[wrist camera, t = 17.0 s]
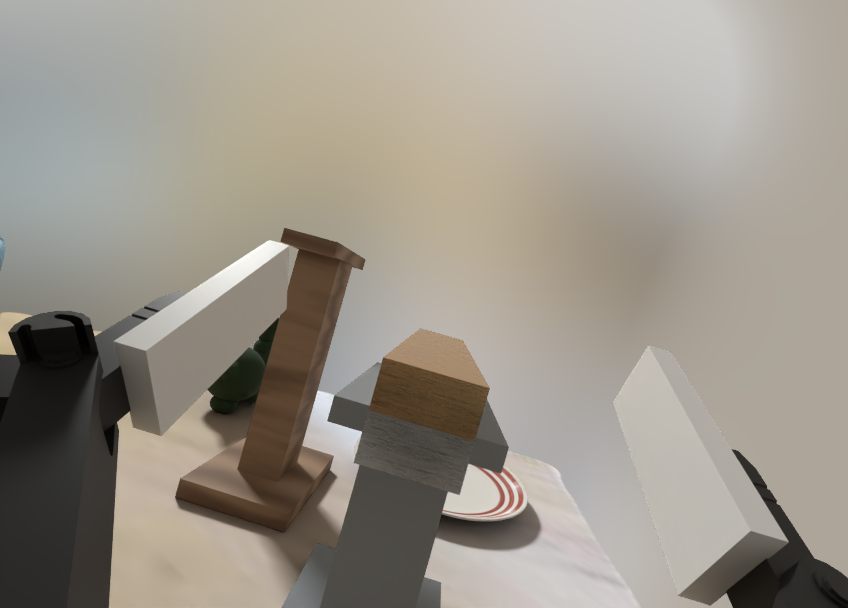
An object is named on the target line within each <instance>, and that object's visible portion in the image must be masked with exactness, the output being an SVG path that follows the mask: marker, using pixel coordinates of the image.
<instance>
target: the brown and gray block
mask: <svg viewBox="0 0 848 608" xmlns="http://www.w3.org/2000/svg"><path fill="white" fill-rule="evenodd" d="M488 392H489V386H488V384H487V383H486V381H485V379H484V377H483V375H482V374H481V372H480V370H479V368H478V367H477V365H476V363H475V361H474V360H473V358H472V356H471V354H470V353H469V351H468V349H467V347H466V345H465V344H464V342H463V340H459V339H455V338H452V337H449V336H445V335H441V334H438V333H435V332H431V331H427V330H424V329H419V330H418V331H417V332H415V333H414V334H413V335H411V336H410V337H409V338H408V339H406V340H405V341H404V342H402V343H401V344H400V345H399V346H397V347H396V348H395V349H394V350H392V351H391V352H390V353H388V354H387V355H386V356H385V357H383V360H382V364H381V367H380V371H379V375H378V378H377V382H376V385H375V389H374V392H373V396H372V399H371V403H370V407H369V410H368V414H367V417H366V421H365V424H364V428H363V432H362V435H361V439H360V442H359V446H358V449H357V453H356V456H355V460H354V463H356V464H359V465H363V466H366V467H369V468H372V469H376V470H379V471H382V472H385V473H389V474H392V475H395V476H398V477H402V478H405V479H408V480H411V481H415V482H418V483H421V484H425V485H428V486H431V487H434V488H438V489H441V490H444V491H447V492H451V493H454V494H457V495H460V492H461V488H462V485H463V481H464V478H465V474H466V471H467V467H468V464H469V460H470V456H471V453H472V449H473V446H474V442H475V439H476V435H477V432H478V428H479V424H480V421H481V417H482V414H483V410H484V407H485V403H486V400H487V396H488Z"/></svg>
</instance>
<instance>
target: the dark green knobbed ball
mask: <svg viewBox="0 0 848 608" xmlns="http://www.w3.org/2000/svg"><path fill="white" fill-rule="evenodd" d="M278 322H279V318H277V319H276V320H275V321H274V322H273V323H272V324H271V325H270V326H269V327H268V328H267V329H266V330H265V331H264V332H263V333H262V334H261V335H260V337H259V340H258V341H257V342H256V343H255V344H254V349H251V348H248V349H247V350H246V351H245V352H244V353H243V354H242V355H241V356H240V357H239V358H238V359H237V360H236V361H235V362H234V363H233V364H232V365H231V366H230V367H229V368H228V369H227V370H226V371H225V372H224V373H223V374H222V375H221V376H220V377H219V378H218V379H217V380H216V381H215V382H214V383H213V384H212V385H211V386H210V387H209V388H208V389H207V390H208V391H209V392H210V393H211V394H212V395H214V396H213V397H212V399H211V401H210V406H211V408H212V409H213V410H215V411H217V412H221V413H232V412H234V411H235V410H236V409H237V407H238V402H239V401H243V400H245V401H246V402H247V403H250V404H253V403H255V402H256V400H257V397H258V393H259V390H260V386H261V383H262V379H263V375H264V372H265V368H266V365H267V361H268V358H269V354H270V350H271V347H272V343H273V340H274V336H275V333H276V329H277V325H278Z"/></svg>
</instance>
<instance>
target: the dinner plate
mask: <svg viewBox="0 0 848 608" xmlns="http://www.w3.org/2000/svg"><path fill="white" fill-rule="evenodd" d="M360 439H361V437H360V438H359V439H358V441H357V442H356V444H355V456H356V453H357V449H358V446H359V442H360ZM527 504H528V495H527V491H526V489H525V487H524V485H523V484H522V482H521V481H520V480H519V479H518V478H517V477H516V475H515V474H514V473H513V472H512V471H510V470H509V469H508V468H507V467H506V466H505V465H504V466H503V469H502V473H501V474H500V473H497V472H494V471H491V470H487V469H484V468H481V467H477V466H474V465H471V464H468V467H467V471H466V474H465V478H464V481H463V485H462V488H461V492H460V495H457V494H454V493H451V492H448V493H447V497H446V501H445V504H444V508H443V511H442V515H446V516H449V517H453V518H458V519H463V520H470V521H500V520H506V519H510V518H512V517H515V516H517V515H519V514H520V513H522V512H523V511H524V509H525V508H526V506H527Z"/></svg>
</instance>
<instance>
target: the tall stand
mask: <svg viewBox="0 0 848 608" xmlns="http://www.w3.org/2000/svg"><path fill="white" fill-rule="evenodd" d="M281 242H283V243H285V244H288V245H290V246H293V247H295V248H297V249H299V251H298V254H297V258H296V261H295V265H294V268H293V272H292V276H291V279H290V283H289V286H288V290H287V309H286V310H285V311H284V312H283V313H282V314H281V315H280V318H279V322H278V325H277V329H276V333H275V336H274V340H273V343H272V347H271V350H270V354H269V358H268V361H267V365H266V368H265V372H264V375H263V379H262V383H261V386H260V390H259V393H258V397H257V400H256V404H255V408H254V411H253V415H252V418H251V422H250V425H249V429H248V432H247V436H246V437H245V438H244V439H242V440H240V441H239V442H237V443H236V444H234V445H233V446H231V447H229V448H228V449H226V450H225V451H223V452H221V453H220V454H218V455H217V456H215V457H214V458H212V459H210V460H209V461H207V462H206V463H204V464H203V465H201V466H199V467H198V468H196V469H195V470H193V471H192V472H190V473H188V474H187V475H185V476H184V477H182V478H180V482H179V485H178V489H177V492H176V496H175V497H176V498H179V499H182V500H186V501H189V502H192V503H195V504H198V505H201V506H204V507H207V508H210V509H213V510H217V511H220V512H223V513H226V514H229V515H232V516H235V517H238V518H241V519H245V520H248V521H251V522H254V523H257V524H260V525H263V526H266V527H269V528H272V529H276V530H279V531H282V532H285V530H286V529H287V528H288V526H289V525H290V523H291V522H292V521H293V519H294V518H295V517H296V515H297V514H298V512H299V511H300V510H301V508H302V507H303V506H304V504H305V503H306V502H307V500H308V499H309V497H310V496H311V495H312V493H313V492H314V491H315V489H316V488H317V486H318V485H319V484H320V482H321V481H322V480H323V478H324V477H325V476H326V474H327V473H328V471H329V470H330V467H331V464H332V460H333V457H334V456H333V455H329V454H326V453H323V452H320V451H316V450H313V449H310V448H307V447H303V446H302V444H303V440H304V437H305V433H306V429H307V426H308V422H309V419H310V415H311V412H312V408H313V404H314V401H315V397H316V394H317V390H318V387H319V383H320V379H321V376H322V372H323V369H324V365H325V362H326V358H327V355H328V351H329V347H330V344H331V340H332V336H333V333H334V329H335V326H336V322H337V319H338V315H339V311H340V308H341V304H342V301H343V297H344V294H345V290H346V287H347V283H348V279H349V276H350V273H351V269H352V267H354V268H358V269H361V270H363V266H364V263H365V259H364V258H362V257H360V256H359V255H357V254H356V253H354V252H352V251H351V250H349V249H348V248H346V247H344V246H343V245H341V244H340V243H338V242H334V241H330V240H327V239H323V238H319V237H316V236H312V235H308V234H305V233H301V232H297V231H294V230H290V229H287V228H284V231H283V235H282V238H281Z"/></svg>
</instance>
